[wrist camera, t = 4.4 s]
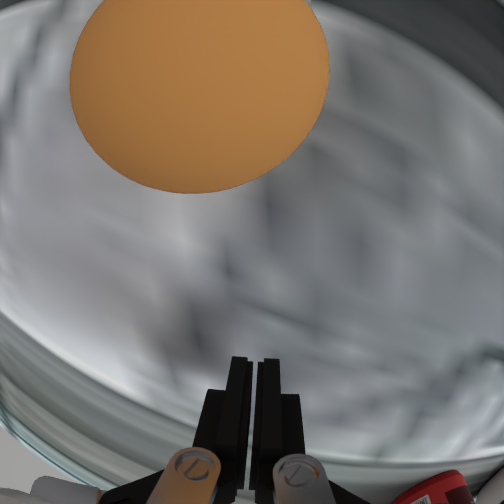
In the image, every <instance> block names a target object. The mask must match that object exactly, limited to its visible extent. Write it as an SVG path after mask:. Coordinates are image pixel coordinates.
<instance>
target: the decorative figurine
mask: <svg viewBox="0 0 504 504" xmlns="http://www.w3.org/2000/svg"><path fill="white" fill-rule="evenodd" d="M476 504H504V467H503V468H502V469H501V470H500V471H499V472H498V473H496V474H495V475H494V476H493V477H492V478H491V479H490V480H489V481H488V482H487V483H486V484H485V485H484V487H483V488H482V489H481V490H480V492H479V494H478V496H477V499H476Z"/></svg>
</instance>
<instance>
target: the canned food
mask: <svg viewBox="0 0 504 504" xmlns="http://www.w3.org/2000/svg"><path fill="white" fill-rule="evenodd" d="M440 502H446V503H449V504H475V502H474V500H473V497H472V495H471V493H470V490H469V488H468V486H467V484H466V482H465V479H464V477H463V475H462V474H460V473H459V472H458V471H447V472H444V473H441V474H439V475H436V476H434V477H432V478H430V479H428V480H426V481H424V482H422V483H420V484H418V485H416V486H414V487H413V488H411V489H409V490H408V491H406V492H405V493H403V494H402V495H400V496H399V497H398V498H397V499H395V500H394V502H393V503H392V504H433V503H440Z"/></svg>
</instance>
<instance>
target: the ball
mask: <svg viewBox="0 0 504 504" xmlns="http://www.w3.org/2000/svg"><path fill="white" fill-rule="evenodd" d="M329 73H330V65H329V52H328V48H327V43H326V38H325V36H324V33H323V31H322V28H321V26H320V23H319V21H318V19H317V18H316V16H315V14H314V13H313V11H312V9H311V8H310V6H309V5H308V4H307V3H306V2H305V0H104V1H103V2H102V3H101V4H100V5H99V7H98V8H97V9H96V11H95V12H94V13H93V15H92V16H91V17H90V19H89V20H88V22H87V24H86V25H85V27H84V29H83V31H82V33H81V35H80V37H79V39H78V42H77V45H76V48H75V51H74V54H73V58H72V64H71V70H70V95H71V102H72V107H73V111H74V114H75V117H76V120H77V123H78V125H79V127H80V129H81V131H82V133H83V135H84V137H85V139H86V140H87V142H88V143H89V144H90V146H91V147H92V148H93V150H94V151H95V152H96V153H97V154H98V155H99V156H100V157H101V158H102V159H103V160H104V161H105V162H106V163H107V164H108V165H109V166H110V167H112V168H113V169H114V170H116V171H117V172H119V173H120V174H122V175H123V176H125V177H127V178H129V179H131V180H133V181H135V182H137V183H140V184H142V185H144V186H147V187H150V188H154V189H158V190H162V191H167V192H172V193H183V194H186V193H210V192H216V191H222V190H226V189H230V188H233V187H236V186H239V185H242V184H244V183H247V182H249V181H251V180H254V179H256V178H258V177H260V176H262V175H264V174H266V173H267V172H269V171H270V170H272V169H273V168H275V167H276V166H277V165H279V164H280V163H281V162H283V161H284V160H285V159H286V158H287V157H289V156H290V155H291V154H292V153H293V152H294V151H295V150H296V149H297V147H298V146H299V145H300V144H301V143H302V142H303V141H304V139H305V138H306V137H307V135H308V134H309V132H310V131H311V129H312V128H313V126H314V124H315V122H316V121H317V118H318V116H319V114H320V112H321V110H322V108H323V105H324V101H325V98H326V94H327V90H328V82H329Z"/></svg>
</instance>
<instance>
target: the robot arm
mask: <svg viewBox="0 0 504 504" xmlns="http://www.w3.org/2000/svg"><path fill="white" fill-rule="evenodd" d="M252 375H253V362H252V361H248V358H247V357H236V356H232V360H231V365H230V370H229V375H228V381H227V386H226V391H224V390H214V389H208V391H207V394H206V397H205V401H204V405H203V408H202V412H201V416H200V419H199V423H198V427H197V431H196V434H195V438H194V442H193V446H192V447H188V448H184V449H181V450H179V451H178V452H176V453H175V454H174V455H173V456H172V458H171V459H170V461H169V463H168V464H167V466H166V468H165V469H164V470H161V471H159V472H157V473H154V474H152V475H149V476H147V477H144V478H142V479H139V480H136V481H134V482H131V483H128V484H125V485H123V486H120V487H117V488H114V489H111V490H109V491H105V490H100V489H99V488H98V487H93V486H88V485H83V484H78V483H74V482H69V481H66V480H62V479H58V478H54V477H50V476H42V477H39V478H38V479H36V480H35V481H34V483H33V485H32V488H31V492H30V494H28V493H25V492H22V491H19V490H14V489H9V488H0V504H231V503H232V502H234V501H235V496H237V489H244V480H245V469H246V458H247V447H248V436H249V425H250V412H251V394H252ZM249 490H255V503H256V504H370V503H369V502H367V501H365V500H363V499H361V498H359V497H357V496H356V495H354V494H352V493H350V492H348V491H347V490H345V489H343V488H342V487H340V486H338V485H337V484H335V483H333V482H332V481H330V480H328V478H327V475H326V472H325V469H324V467H323V466H322V464H321V462H319V461H318V460H317V459H316V458H314V457H312V456H310V455H306V454H305V444H304V433H303V423H302V414H301V404H300V397H299V394H281V385H280V361H279V359H269V358H264V362H258V370H257V386H256V401H255V415H254V429H253V443H252V456H251V469H250V482H249ZM433 504H449V503H446V502H440V503H433Z"/></svg>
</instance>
